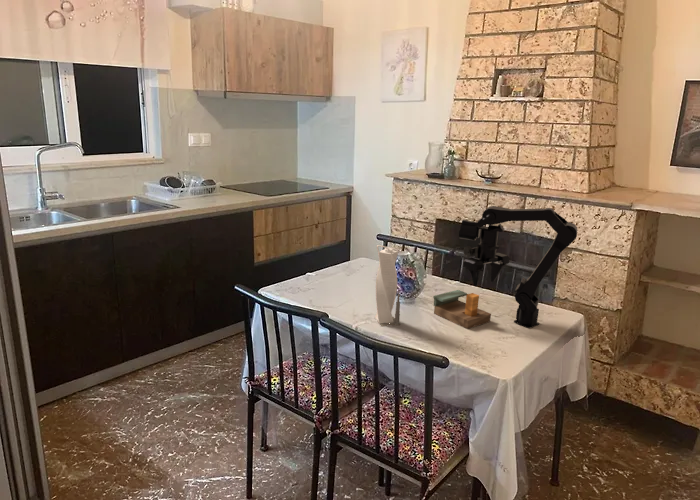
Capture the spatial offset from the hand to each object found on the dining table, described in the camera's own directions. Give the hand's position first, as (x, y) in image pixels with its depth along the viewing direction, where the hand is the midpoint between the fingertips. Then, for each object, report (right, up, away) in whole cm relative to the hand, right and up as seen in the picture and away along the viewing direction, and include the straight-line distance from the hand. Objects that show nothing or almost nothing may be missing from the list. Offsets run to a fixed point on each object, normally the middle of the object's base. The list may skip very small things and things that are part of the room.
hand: (484, 284), depth 189 cm
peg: (-6, -13, -3) cm, 15 cm away
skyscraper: (-36, -13, -5) cm, 39 cm away
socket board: (-8, -12, 0) cm, 15 cm away
